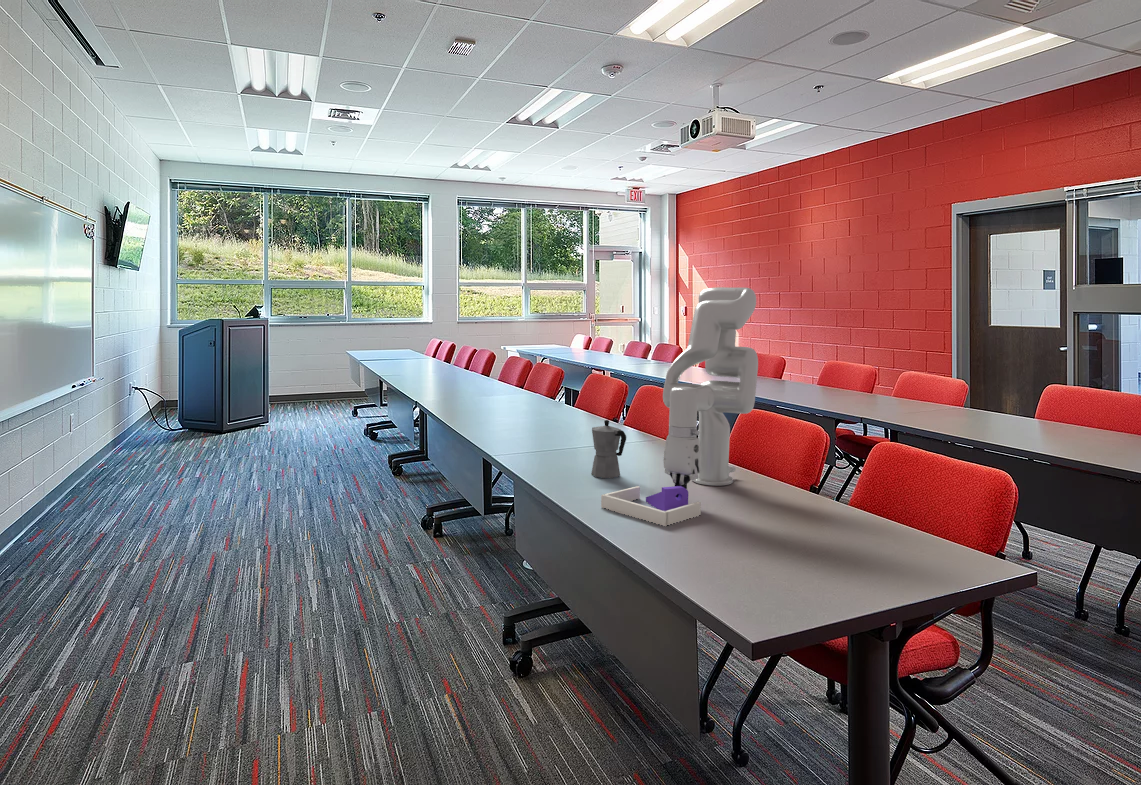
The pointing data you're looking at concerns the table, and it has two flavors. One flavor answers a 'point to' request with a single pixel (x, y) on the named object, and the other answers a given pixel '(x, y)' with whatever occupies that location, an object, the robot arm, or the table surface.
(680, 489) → the bracket
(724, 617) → the table surface
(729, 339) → the robot arm
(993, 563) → the table surface
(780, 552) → the table surface
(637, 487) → the white u-shaped fence
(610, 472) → the coffeepot
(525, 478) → the table surface
